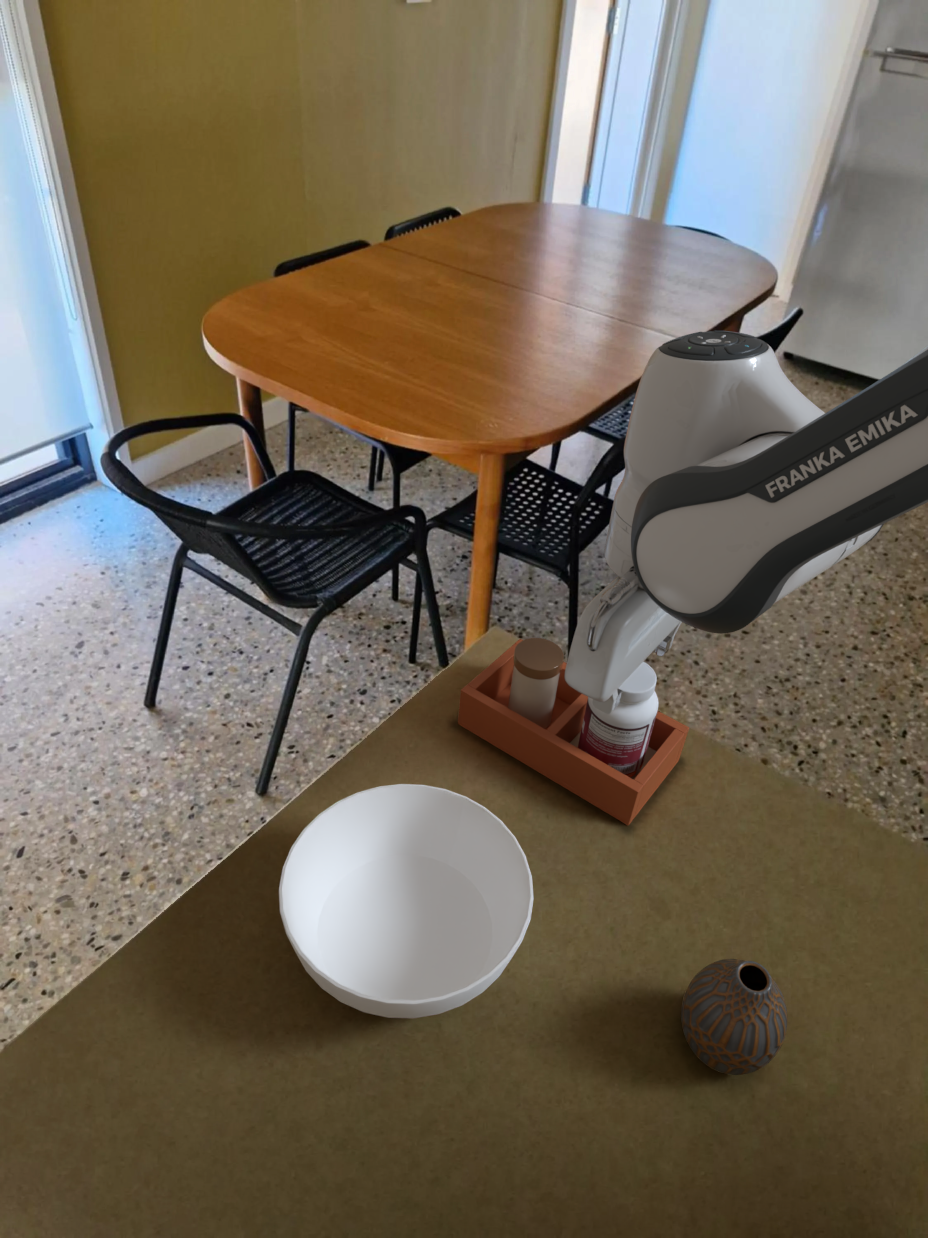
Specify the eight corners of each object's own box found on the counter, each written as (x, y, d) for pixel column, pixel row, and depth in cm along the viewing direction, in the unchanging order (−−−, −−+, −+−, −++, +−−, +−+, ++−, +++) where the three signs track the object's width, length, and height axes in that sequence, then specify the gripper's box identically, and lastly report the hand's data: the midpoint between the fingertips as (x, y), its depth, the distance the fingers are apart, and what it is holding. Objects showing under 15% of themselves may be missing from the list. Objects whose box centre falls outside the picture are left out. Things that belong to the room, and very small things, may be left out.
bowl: (233, 978, 65) (223, 923, 60) (368, 807, 78) (368, 751, 73) (453, 1107, 59) (460, 1057, 54) (559, 899, 72) (572, 844, 67)
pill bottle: (599, 726, 86) (619, 640, 79) (654, 759, 83) (679, 673, 77) (562, 760, 83) (580, 673, 76) (618, 797, 80) (642, 709, 73)
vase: (780, 1026, 65) (818, 962, 59) (753, 1110, 60) (792, 1050, 55) (690, 978, 67) (719, 912, 62) (658, 1055, 63) (686, 992, 57)
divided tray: (515, 671, 93) (520, 638, 90) (678, 761, 85) (689, 727, 82) (457, 724, 86) (460, 689, 84) (628, 826, 78) (638, 792, 75)
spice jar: (549, 700, 89) (561, 638, 84) (554, 733, 85) (566, 671, 80) (504, 699, 89) (512, 636, 84) (507, 732, 85) (516, 669, 80)
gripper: (636, 624, 60) (603, 764, 68) (755, 506, 73) (715, 635, 81) (557, 587, 62) (535, 726, 71) (685, 479, 75) (654, 607, 84)
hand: (632, 676), depth 76 cm, fingers open, 8 cm apart
